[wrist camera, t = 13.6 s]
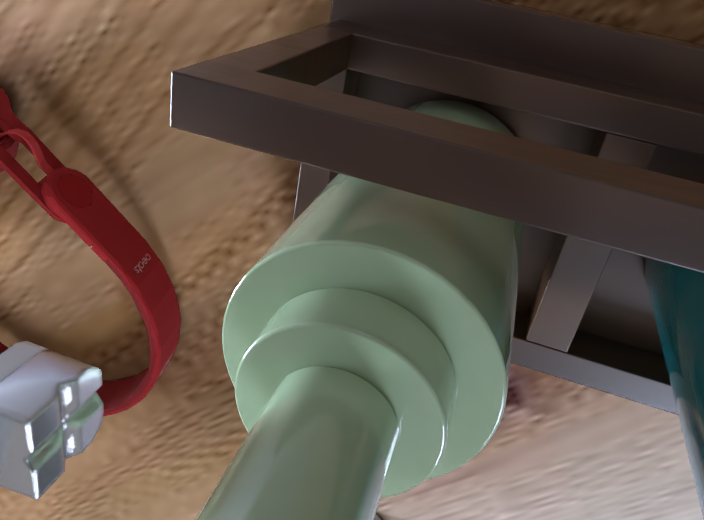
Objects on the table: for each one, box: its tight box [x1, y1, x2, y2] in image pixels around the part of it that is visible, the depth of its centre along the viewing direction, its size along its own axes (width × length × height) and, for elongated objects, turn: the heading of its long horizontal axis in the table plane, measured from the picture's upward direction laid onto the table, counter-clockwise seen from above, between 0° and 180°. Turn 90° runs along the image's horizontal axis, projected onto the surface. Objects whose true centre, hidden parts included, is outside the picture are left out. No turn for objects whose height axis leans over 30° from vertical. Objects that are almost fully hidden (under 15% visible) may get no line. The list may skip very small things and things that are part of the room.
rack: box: [170, 0, 704, 415], centre depth 18 cm, size 13×22×13 cm, turn 80°
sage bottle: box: [195, 100, 525, 520], centre depth 16 cm, size 6×6×18 cm
